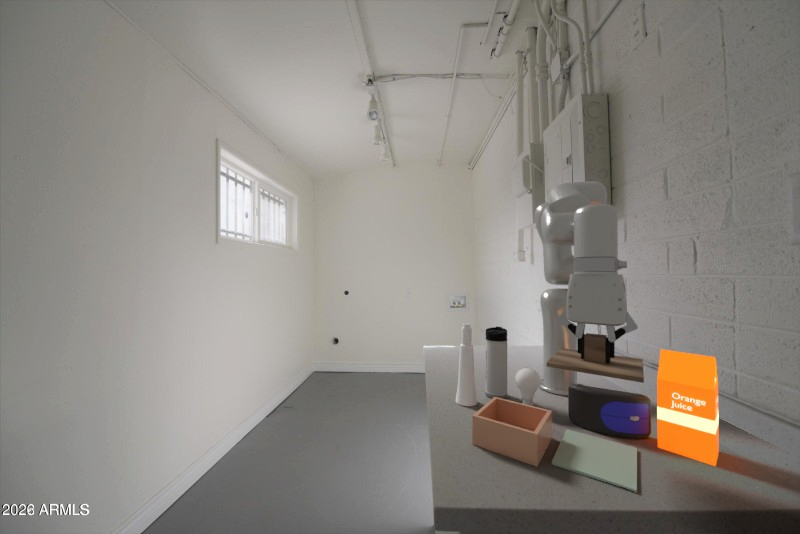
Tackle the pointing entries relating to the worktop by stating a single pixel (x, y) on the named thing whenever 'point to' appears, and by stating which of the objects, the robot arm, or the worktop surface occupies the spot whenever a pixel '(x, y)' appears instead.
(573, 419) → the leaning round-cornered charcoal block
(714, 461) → the orange juice
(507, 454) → the salmon open box
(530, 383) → the lightbulb
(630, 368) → the lid
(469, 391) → the cosmetic bottle
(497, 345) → the travel mug
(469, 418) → the worktop surface
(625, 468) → the mat
